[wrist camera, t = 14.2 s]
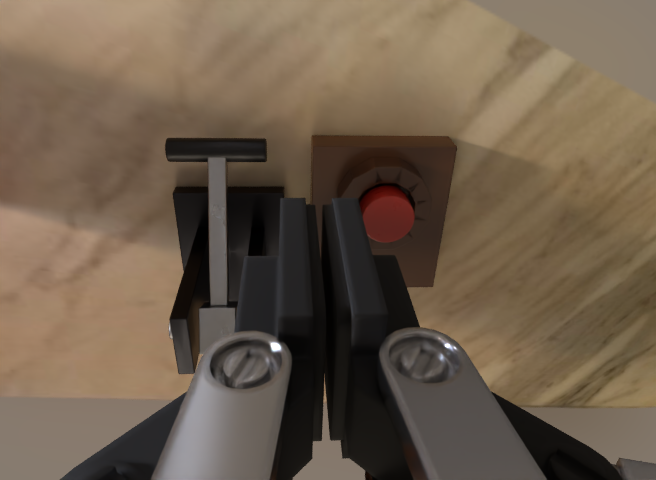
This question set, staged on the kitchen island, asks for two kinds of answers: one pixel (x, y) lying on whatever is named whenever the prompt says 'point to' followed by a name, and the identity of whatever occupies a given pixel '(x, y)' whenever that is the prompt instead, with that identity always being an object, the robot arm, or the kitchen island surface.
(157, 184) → the kitchen island surface
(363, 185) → the button block
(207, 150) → the tap lever
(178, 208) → the bracket
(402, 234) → the button
